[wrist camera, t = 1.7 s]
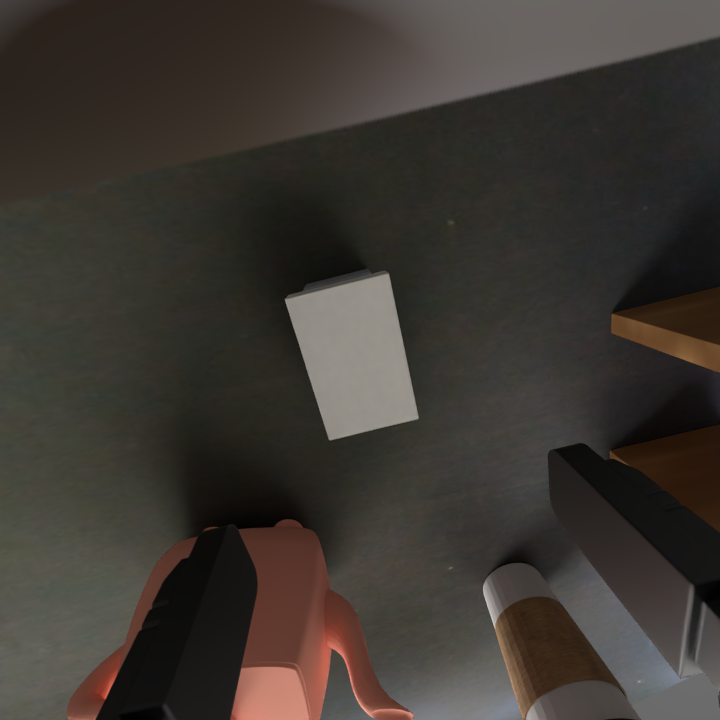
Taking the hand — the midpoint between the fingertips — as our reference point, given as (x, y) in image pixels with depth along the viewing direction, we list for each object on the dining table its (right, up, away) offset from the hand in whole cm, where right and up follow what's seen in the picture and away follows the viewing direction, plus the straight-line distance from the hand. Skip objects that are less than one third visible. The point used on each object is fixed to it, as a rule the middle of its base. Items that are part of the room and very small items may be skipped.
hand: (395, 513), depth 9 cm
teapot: (-9, -14, +24) cm, 29 cm away
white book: (-1, +4, +13) cm, 14 cm away
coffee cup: (+14, -19, +27) cm, 35 cm away
